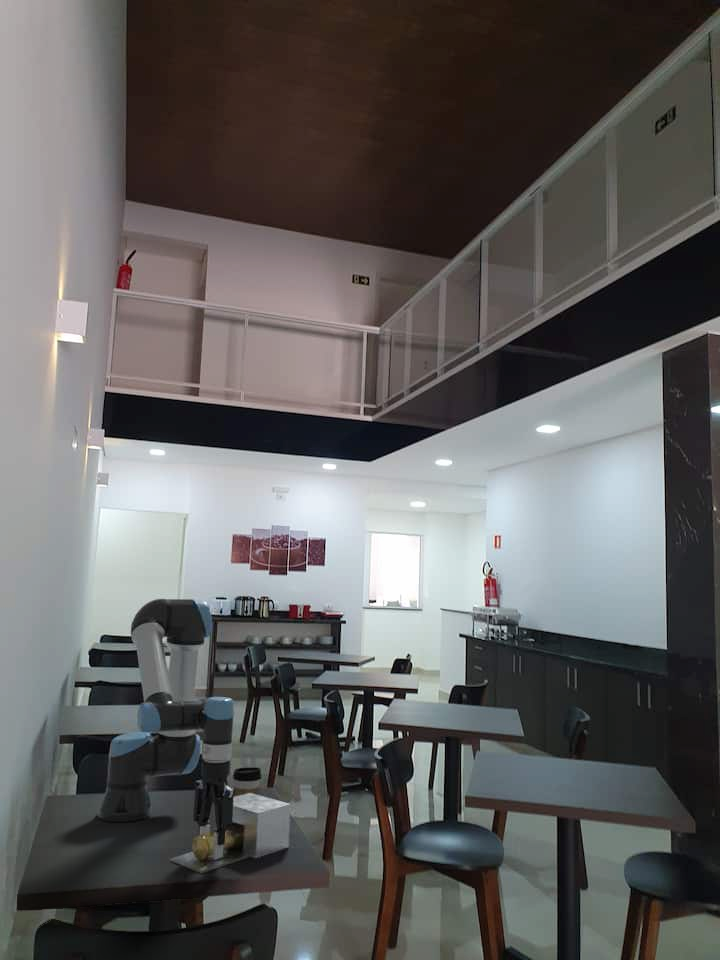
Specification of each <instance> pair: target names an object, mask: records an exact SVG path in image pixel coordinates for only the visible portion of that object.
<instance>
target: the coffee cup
mask: <svg viewBox="0 0 720 960" xmlns="http://www.w3.org/2000/svg"><path fill="white" fill-rule="evenodd" d="M261 771H262V770H261V768H260V767H256V766H255V767H251V766H250V767H249V766H248V767H247V766H246V767H237V768H235V769H234V771H233V774H232V779H233V781H234V782H233V783H234V785H233V788H234V789H235V795H234V797H235V796H239V795H243V794H247V793H253V794H256V795H260V794H259V793H260V780H261V779H262V773H261Z"/></svg>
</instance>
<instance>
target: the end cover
mask: <svg viewBox="0 0 720 960" xmlns="http://www.w3.org/2000/svg"><path fill="white" fill-rule="evenodd" d="M213 843H214V832H213V833H210V834H209V835H205V836H203V835H199V834H198V835H197V836H195V837H193V840H192V845H191V846H192V847H191V848H192V849H191V850H192V852H193V853H194V856H195V857H196V858H197V859H198V860H203V859H205V858H207V856H210V855H213ZM241 845H244V827H243V826H236V827H233V828H231V829H229V830H226V832H225V843H224V845H223V851H226V850H229V849H232V848H235V847H238V846H241Z"/></svg>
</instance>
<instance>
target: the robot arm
mask: <svg viewBox="0 0 720 960" xmlns="http://www.w3.org/2000/svg"><path fill="white" fill-rule="evenodd" d="M212 631H213V619H212V612H211V608H210V605H209V604H208V603H207V602H206V601H205V600H199V599H193V598H189V599H187V598H186V599H184V598H182V599H181V598H180V599H179V598H178V599H177V598H172V599H169V598H157V599H154V600H151V601H149V602H147V603H145V604H144V605H143V606H141V608H140V609H138V611H137V613H136V614H135V615H134V617H133V620H132V621H131V625H130V635H131V636H130V637H131V641H132V642H133V644H134V645H135V646H136V655H137V660H138V668H139V673H140V674H139V675H140V682H141V688H142V694H143V702H142V703H140V705H139V706H138V709H137V715H136V717H137V723H136V724H137V727H138V730H139V731H133V732H127V733H123V734H120V735H118V736H116V737H114V738H113V739H112V741H111V742H110V747H109V753H108V766H107V767H108V768H107V769H108V770H107V779H106V780H107V781H106V790H105V793H104V795H103V797H102V800H101V803H100V806H99V808H98V815H97V816H98V818H99V819H100V820H102V821H106V822H110V823H111V822H112V823H128V822H136V821H139V820H144V819H147V818H148V817H150V816H151V814H152V803H151V799H150V795H149V789H148V778H149V777H151V778H152V777H165V776H180V775H187V774H190V773H192V772H193V771H194V770H195V769H196V767H197V765H198V763H199V759H200V757H201V759H202V760H201V762H200V775H201V777H202V778H201V779H200V780H196V781H194V783H193V785H194V791H195V793H194V806H193V822H197V826H198V836H199V835H203V836H205V835H209V834H211V825H210V823H211V821H210V815H211V811H212V807H213V804H214V815H215V830H214V831H213V833H214V843H213V859H214V860H215V859H218V858H221V857H223V845H224V843H225V832H226V830H229V829H231V828H232V818H233V798H234V795H235V789H234V787H233V788H231V787H230V786H229V783H228V777H229V776H230V775H231V762H232V761H231V760H230V759H231V758H232V745H233V744H232V743H233V742H232V741H233V725H234V715H235V709H234V706H235V705H234V699H232V698H231V697H225V696H212V697H211V696H210V697H208V698H200V699H198V700H195V690H196V681H197V672H198V671H197V669H198V658H199V649H200V648H201V647H202V646H203V645H205V639H207V638H210V637H211V635H212ZM164 638H166V644H167V645H168V646H169V647H170V654H169V664H168V665H167V658H166V653H165V652H166V651H165V647H164V642H163V639H164ZM197 730H198V731H199V730H200V731H202V742H201V738H200V736H199V734H197V733H196V732H197ZM151 733H157V734H156V736H152V734H151ZM201 743H202V747H201ZM200 755H201V756H200ZM221 825H222V826H221ZM216 828H217V830H216Z"/></svg>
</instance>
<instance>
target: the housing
mask: <svg viewBox="0 0 720 960" xmlns="http://www.w3.org/2000/svg"><path fill="white" fill-rule="evenodd" d="M290 822H291V803H288V802H284V801H281V800H277V799H274V798H271V797H267V796H263V795H261V794H258V795H256V794H253V793H247V794H243V795H239V796H235V797H234V798H233V818H232V828H233V827H236V826H243V827H244V845H241V846H238V847H235V848H232V849H229V850H226V851H223V857H221V858H218V859H215V860H214V859H213V855H210V856H207V858H205V859H203V860H198V859H197V858H196V857H195V856H194V853H193V851H191V852H187V853H184V854H181V855H177V856H174V857H170V862H172V863H174V864H177V865H180V866H182V867H184V868H187V869H190V870H192V871H194V872H197V873H199V874H204V873H207V872H210V871H213V870H216V869H217V868H222V867H224V866H227V865H231V864H233V863H235V862H238V861H241V860H245V859H248V858H254V859H258V857H259V858H262V857H264V855H265V856H267V854H268V855H270V853H271V854H274V853H276V852H279V851H282V850H284V849H287V848H290V825H291V824H290ZM221 826H222V825H221ZM215 830H217V828H216V827H215ZM261 856H262V857H261Z"/></svg>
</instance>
